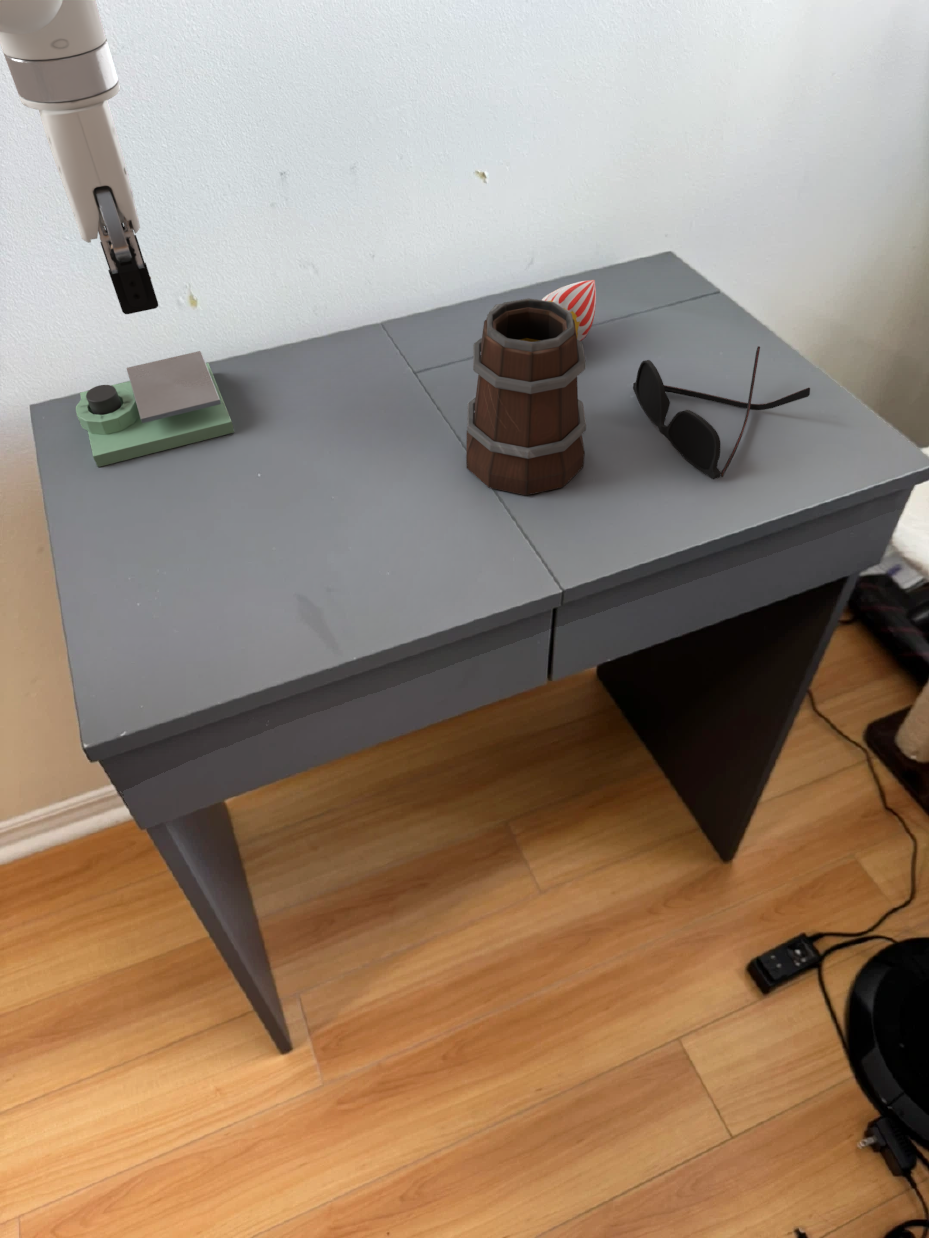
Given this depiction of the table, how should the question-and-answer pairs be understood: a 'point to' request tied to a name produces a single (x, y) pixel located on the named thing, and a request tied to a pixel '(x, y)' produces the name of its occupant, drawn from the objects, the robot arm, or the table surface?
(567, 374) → the wooden bucket
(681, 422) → the sunglasses
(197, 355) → the brushed metal plate
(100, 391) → the button
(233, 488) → the table surface
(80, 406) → the scale
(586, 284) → the ice cream cone
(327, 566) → the table surface
